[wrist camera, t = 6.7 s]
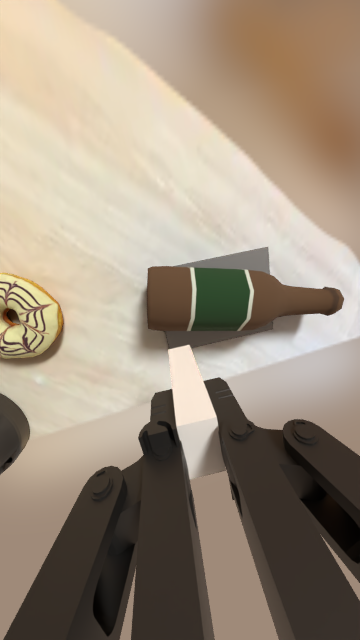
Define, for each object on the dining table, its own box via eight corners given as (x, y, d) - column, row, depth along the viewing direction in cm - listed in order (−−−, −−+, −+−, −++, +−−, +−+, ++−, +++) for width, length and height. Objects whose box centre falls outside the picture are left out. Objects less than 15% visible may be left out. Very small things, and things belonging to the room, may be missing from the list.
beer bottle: (147, 250, 20) (360, 260, 23) (149, 276, 27) (308, 281, 30) (146, 328, 19) (368, 328, 22) (149, 332, 26) (312, 332, 29)
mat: (170, 351, 30) (170, 352, 29) (151, 270, 26) (151, 271, 26) (271, 328, 31) (272, 329, 30) (266, 247, 27) (268, 246, 27)
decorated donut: (55, 359, 28) (40, 374, 25) (-30, 335, 26) (-59, 346, 23) (75, 292, 26) (62, 298, 22) (-16, 259, 24) (-47, 259, 20)
